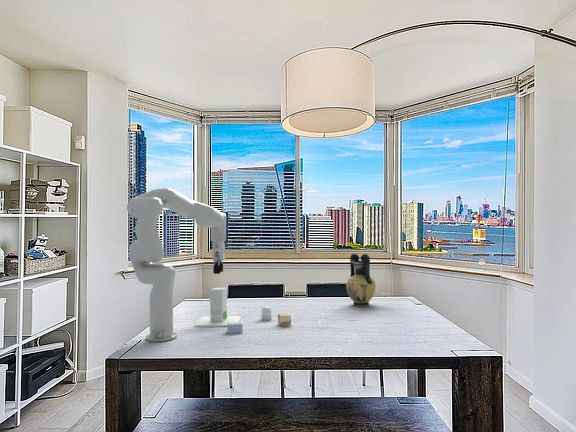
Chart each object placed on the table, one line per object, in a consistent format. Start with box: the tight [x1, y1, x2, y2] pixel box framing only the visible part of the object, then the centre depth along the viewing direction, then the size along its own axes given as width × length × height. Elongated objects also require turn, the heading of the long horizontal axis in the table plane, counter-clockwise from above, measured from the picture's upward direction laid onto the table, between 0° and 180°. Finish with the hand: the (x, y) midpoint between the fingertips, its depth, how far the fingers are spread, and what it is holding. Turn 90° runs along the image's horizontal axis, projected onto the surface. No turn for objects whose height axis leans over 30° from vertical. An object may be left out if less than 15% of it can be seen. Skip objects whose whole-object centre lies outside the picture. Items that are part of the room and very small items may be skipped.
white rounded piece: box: [260, 305, 272, 321], centre depth 223 cm, size 5×5×6 cm
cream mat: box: [194, 315, 242, 328], centre depth 217 cm, size 20×20×1 cm
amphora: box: [345, 253, 376, 307], centre depth 259 cm, size 18×17×30 cm
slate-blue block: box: [226, 321, 243, 334], centre depth 196 cm, size 4×6×4 cm, turn 107°
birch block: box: [277, 312, 292, 327], centre depth 210 cm, size 5×5×5 cm
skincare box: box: [209, 287, 228, 322], centre depth 217 cm, size 8×7×16 cm
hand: (218, 272), depth 217 cm, fingers open, 9 cm apart
